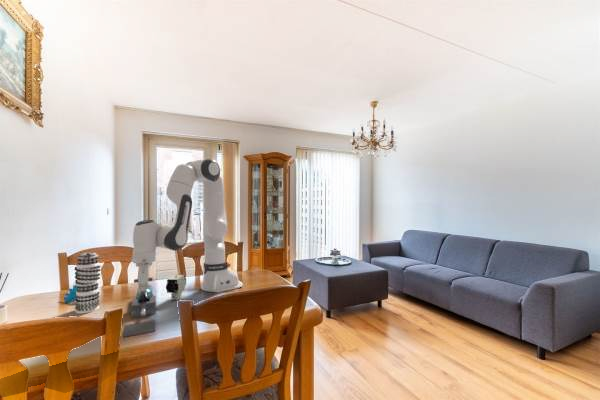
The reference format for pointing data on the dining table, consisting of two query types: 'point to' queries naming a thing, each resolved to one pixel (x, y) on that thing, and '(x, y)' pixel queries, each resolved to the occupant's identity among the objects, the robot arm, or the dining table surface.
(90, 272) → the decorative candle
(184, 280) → the pneumatic valve
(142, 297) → the chuck key
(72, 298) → the gear
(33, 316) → the dining table surface
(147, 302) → the grey base teal knob
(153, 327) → the mat
